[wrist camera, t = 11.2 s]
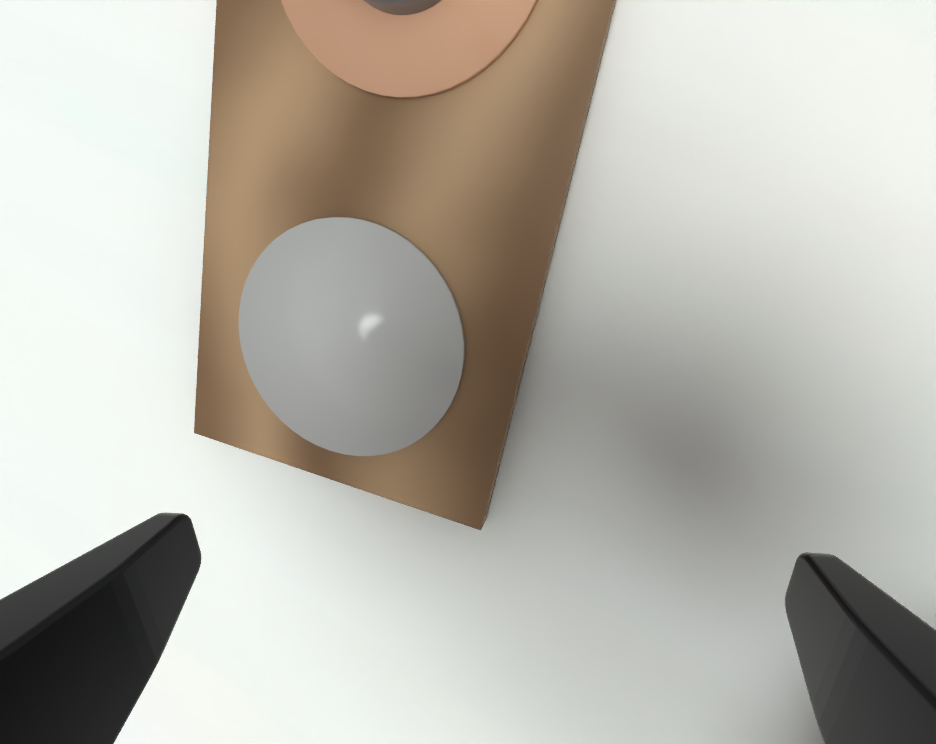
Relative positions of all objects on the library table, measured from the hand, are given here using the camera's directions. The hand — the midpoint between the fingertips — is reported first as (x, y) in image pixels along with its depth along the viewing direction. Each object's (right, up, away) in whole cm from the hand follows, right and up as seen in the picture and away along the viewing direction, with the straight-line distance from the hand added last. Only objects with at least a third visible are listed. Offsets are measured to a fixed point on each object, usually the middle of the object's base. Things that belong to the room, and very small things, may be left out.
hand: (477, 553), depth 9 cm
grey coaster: (-5, +4, +13) cm, 14 cm away
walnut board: (-3, +10, +12) cm, 16 cm away
